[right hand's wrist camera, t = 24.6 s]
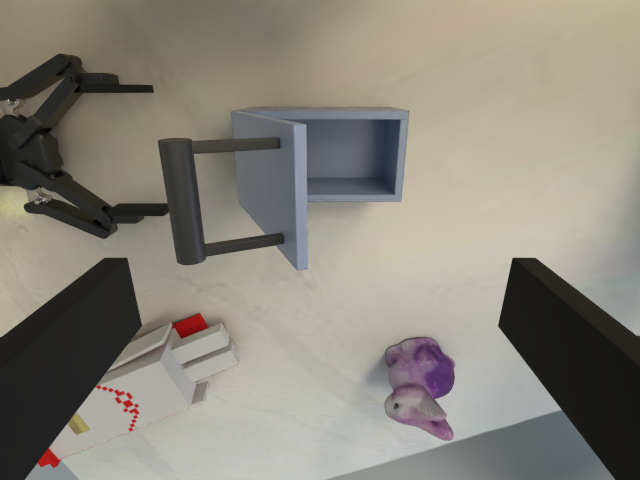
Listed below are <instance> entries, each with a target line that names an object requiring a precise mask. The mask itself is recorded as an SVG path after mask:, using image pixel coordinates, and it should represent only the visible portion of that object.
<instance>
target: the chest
mask: <svg viewBox="0 0 640 480" xmlns="http://www.w3.org/2000/svg"><path fill="white" fill-rule="evenodd" d="M238 111H241V112H246V113H251V114H256V115H261V116H266V117H271V118H277V119H282V120H287V121H292V122H297V123H302V124H306V144H307V202H401V199H402V188H403V177H404V165H405V154H406V142H407V130H408V119H409V111H406V110H401V109H396V108H392V107H252V108H247V109H243V110H238Z"/></svg>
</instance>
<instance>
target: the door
mask: <svg viewBox="0 0 640 480" xmlns="http://www.w3.org/2000/svg"><path fill="white" fill-rule="evenodd" d="M231 115H232V127H233V139H225V140H204V141H192V140H191V139H189V138H169V139H161V140H158V145H159V151H160V157H161V164H162V170H163V176H164V183H165V189H166V195H167V202H168V208H169V214H170V221H171V227H172V233H173V240H174V246H175V252H176V258H177V262H178V263H179V264H182V265H194V264H198V263H201V262H203V261H204V260H205V259H206V257H207V256H213V255H219V254H225V253H231V252H237V251H243V250H250V249H256V248H262V247H268V246H274V245H275V246H276V247H277V248H278V249H279V250H280V251H281V252H282V254H283V255H284V256H285V257H286V258H287V259H288V261H289V262H290V263H291V264H292V265H293V266H294V268H295V269H296V270H304V269H308V226H307V144H306V124H302V123H297V122H292V121H287V120H282V119H277V118H271V117H266V116H261V115H256V114H251V113H246V112H241V111H231ZM218 152H235V163H236V174H237V186H238V198H239V204H240V205H241V206H242V207H243V208H244V210H245V211H246V212H247V213H248V214H249V215H250V217H251V218H252V219H253V220H254V221H255V222H256V224H257V225H258V226H259V227H260V228H261V229H262V230H263V232H264V233H265V234H266V235H262V236H255V237H248V238H242V239H235V240H228V241H222V242H215V243H208V244H205V242H204V234H203V226H202V218H201V210H200V202H199V194H198V186H197V178H196V170H195V162H194V154H202V153H218Z"/></svg>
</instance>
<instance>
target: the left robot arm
mask: <svg viewBox="0 0 640 480" xmlns="http://www.w3.org/2000/svg"><path fill="white" fill-rule="evenodd" d="M81 65H82V61H81V59H80V58H79V57H77V56H73V55H66V54H58V55H56V56H55V57H53V58H51V59H50V60H48V61H47V62H45V63H44V64H42V65H41V66H39V67H37V68H36V69H34V70H33V71H31V72H30V73H28V74H27V75H25V76H24V77H22V78H20V79H19V80H17V81H16V82H14V83H13V84H11V85H10V86H8V87H4V88H0V106H1V108H2V111H3V113H4V116H3V117H2V118H0V186H18V187H22V188H24V189H26V190H27V194H28V199H29V203H26V204H25V205H24V209H25V211H26V212H28V213H35V214H44V215H47V216H49V217H52V218H54V219H56V220H59V221H61V222H64V223H66V224H69V225H71V226H73V227H76V228H78V229H81V230H83V231H85V232H88V233H90V234H93V235H95V236H97V237H100V238H103V239H105V238H107V237H109V236H110V235H112V234H113V233H114V232H116V231H117V230H118V227H117V224H121V223H138V222H140V221H141V220H143V219H144V216H164V215H166V214H167V213H168V212H169V208H168V203H167V204H118V205H116V206H114V207H112V206H110V205H109V204H108V203H106V202H105V201H103V200H102V199H100V198H99V197H97V196H96V195H94V194H93V193H92V192H90V191H89V190H87V189H86V188H84V187H83V186H81V185H80V184H79V183H77V182H76V181H74V180H73V179H72V176H71V175H69V174H68V173H66V172H65V171H63V170H62V169H61V166H62V165H63V161H62V158H61V156H60V154H59V152H58V142H57V138H54V137H53V135H52V134H51V132H52V131H53V130H54V129H55V128H56V127H57V125H58V124H59V123H58V121H59V120H60V119H61V118H62V117H63V116H64V115H65V113H66V112H67V111H68V110H69V109H70V108H71V106H72V105H73V104H74V103H75V102H76V101H77V100H78V98H79V97H80V96H81V95H82V94H83V93H154V91H153V85H119V81H118V76H117V75H114V74H110V73H87V72H86V71H85V70H84V69H83V67H82V66H81ZM64 77H65V78H64ZM62 78H64V79H63V81H62V82H61V83H60V84H59V85H58V87H57V88H56V89H55V90H54V91H53V92H52V94H51V95H50V96H49V97H48V98H47V100H46V101H45V102H44V103H43V104H42V106H41V107H40V108H39V109H38V110H37V112H36V113H35V114H34V115H32V116H30V117H29V118H26V117H24V116H23V115H20V114H19V109H20V108H21V107H23V106H24V104H26V101H25V99H29V98H32V97H34V96H35V95H37V94H39V93H40V92H42V91H43V90H45V89H47V88H48V87H50V86H51V85H53V84H54V83H56V82H58V81H59V80H61V79H62ZM53 177H54V178H53ZM41 187H44V188H46V189H47V190H49V191H54V192H56V193H58V194H59V195H61V196H62V197H64V198H65V199H67V200H68V201H70V202H71V203H73V204H74V205H75V206H77V207H78V208H77V207H74V206H72V205H70V204H67V203H65V202H63V201H60V200H56V199H53V197H52V196H51V195H47V194H44V193H43V192H42V191H41ZM79 208H80V209H79Z"/></svg>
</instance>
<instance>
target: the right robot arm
mask: <svg viewBox="0 0 640 480" xmlns="http://www.w3.org/2000/svg"><path fill="white" fill-rule="evenodd" d="M141 326H142V324H141V320H140V315H139V310H138V306H137V301H136V296H135V292H134V287H133V282H132V278H131V273H130V268H129V264H128V259H127V258H104V259H103V260H101V261H100V262H99V263H97V264H96V265H95V266H94V267H92V268H91V269H90V270H88V271H87V272H86V273H84V274H83V275H82V276H81V277H79V278H78V279H77V280H75V281H74V282H73V283H71V284H70V285H69V286H68V287H66V288H65V289H64V290H62V291H61V292H60V293H58V294H57V295H56V296H55V297H53V298H52V299H51V300H49V301H48V302H47V303H45V304H44V305H43V306H41V307H40V308H39V309H38V310H36V311H35V312H34V313H32V314H31V315H30V316H28V317H27V318H26V319H25V320H23V321H22V322H21V323H19V324H18V325H17V326H15V327H14V328H13V329H12V330H10V331H9V332H8V333H6V334H5V335H4V336H2V337H0V480H25V478H26V477H27V476H28V475H29V473H30V472H31V471H32V469H33V468H34V467H35V465H36V464H37V463H38V461H39V460H40V459H41V458H42V456H43V455H44V454H45V452H46V451H47V450H48V448H49V447H50V446H51V444H52V443H53V442H54V441H55V439H56V438H57V437H58V435H59V434H60V433H61V431H62V430H63V429H64V427H65V426H66V425H67V423H68V422H69V421H70V420H71V418H72V417H73V416H74V414H75V413H76V412H77V410H78V409H79V408H80V406H81V405H82V404H83V402H84V401H85V400H86V399H87V397H88V396H89V395H90V393H91V392H92V391H93V389H94V388H95V387H96V385H97V384H98V383H99V382H100V380H101V379H102V378H103V376H104V375H105V374H106V372H107V371H108V370H109V368H110V367H111V366H112V364H113V363H114V362H115V361H116V359H117V358H118V357H119V355H120V354H121V353H122V351H123V350H124V349H125V347H126V346H127V345H128V343H129V342H130V341H131V340H132V338H133V337H134V336H135V334H136V333H137V332H138V330H139V329H140V328H141ZM498 326H499V328H500V329H501V330H502V332H503V333H504V334H505V336H506V337H507V338H508V340H509V341H510V342H511V343H512V345H513V346H514V347H515V349H516V350H517V351H518V353H519V354H520V355H521V357H522V358H523V359H524V361H525V362H526V363H527V364H528V366H529V367H530V368H531V370H532V371H533V372H534V374H535V375H536V376H537V378H538V379H539V380H540V382H541V383H542V384H543V385H544V387H545V388H546V389H547V391H548V392H549V393H550V395H551V396H552V397H553V399H554V400H555V401H556V402H557V404H558V405H559V406H560V408H561V409H562V410H563V412H564V413H565V414H566V416H567V417H568V418H569V420H570V421H571V422H572V423H573V425H574V426H575V427H576V429H577V430H578V431H579V433H580V434H581V435H582V437H583V438H584V439H585V441H586V442H587V443H588V444H589V446H590V447H591V448H592V450H593V451H594V452H595V454H596V455H597V456H598V458H599V459H600V460H601V461H602V463H603V464H604V465H605V467H606V468H607V469H608V471H609V472H610V473H611V475H612V476H613V477H614V478H615V480H640V336H636V335H635V334H634V333H632V332H631V331H630V330H628V329H627V328H626V327H625V326H623V325H622V324H621V323H619V322H618V321H617V320H615V319H614V318H613V317H612V316H610V315H609V314H608V313H606V312H605V311H604V310H602V309H601V308H600V307H598V306H597V305H596V304H595V303H593V302H592V301H591V300H589V299H588V298H587V297H585V296H584V295H583V294H582V293H580V292H579V291H578V290H576V289H575V288H574V287H572V286H571V285H570V284H569V283H567V282H566V281H565V280H563V279H562V278H561V277H559V276H558V275H557V274H556V273H554V272H553V271H552V270H550V269H549V268H548V267H546V266H545V265H544V264H543V263H541V262H540V261H539V260H537V259H536V258H513V259H512V264H511V268H510V273H509V278H508V282H507V287H506V292H505V296H504V301H503V306H502V310H501V315H500V320H499V324H498Z"/></svg>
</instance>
